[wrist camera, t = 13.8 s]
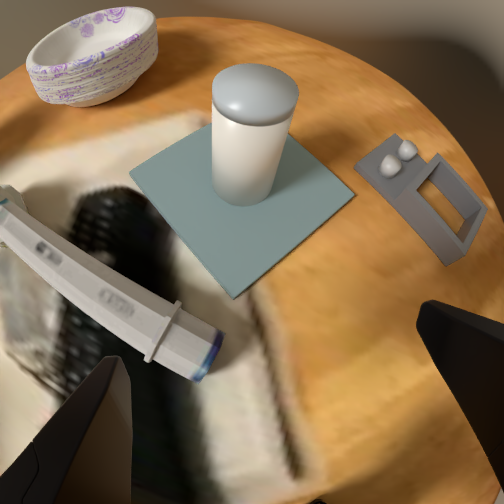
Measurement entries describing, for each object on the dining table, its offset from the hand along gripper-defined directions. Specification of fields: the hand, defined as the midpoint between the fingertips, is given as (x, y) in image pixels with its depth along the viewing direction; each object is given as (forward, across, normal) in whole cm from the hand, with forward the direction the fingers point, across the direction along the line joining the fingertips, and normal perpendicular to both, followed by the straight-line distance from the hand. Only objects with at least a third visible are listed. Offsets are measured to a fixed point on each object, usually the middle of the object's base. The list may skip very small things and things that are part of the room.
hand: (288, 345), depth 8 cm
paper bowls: (+32, +13, -13) cm, 37 cm away
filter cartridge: (+19, -2, -1) cm, 19 cm away
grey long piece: (+15, +12, +4) cm, 20 cm away
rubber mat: (+20, -2, 0) cm, 20 cm away
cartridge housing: (+18, -20, +1) cm, 27 cm away
